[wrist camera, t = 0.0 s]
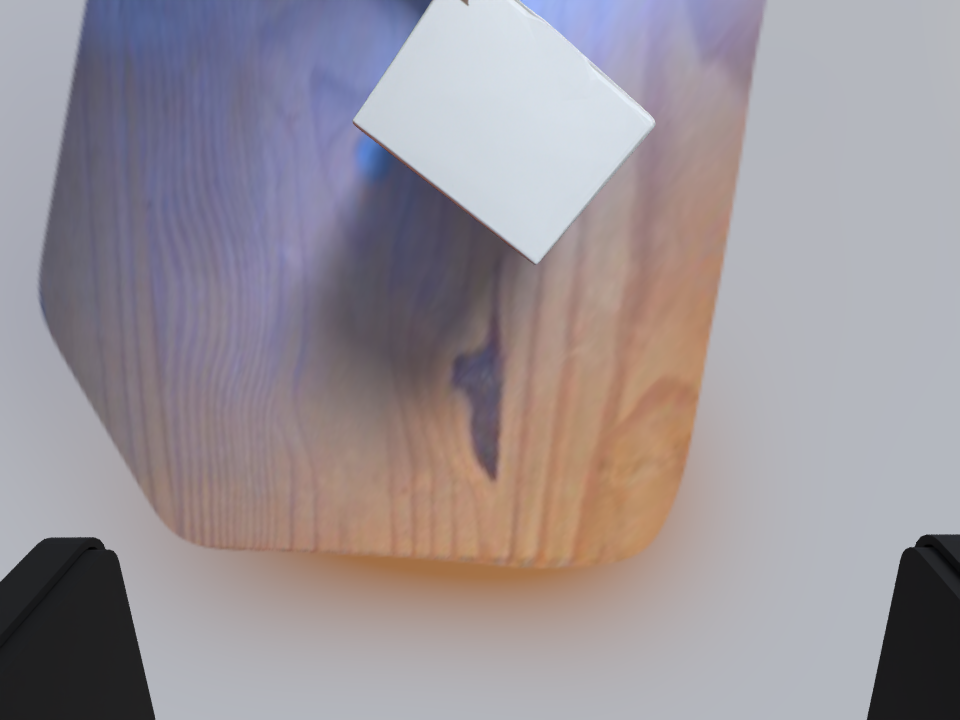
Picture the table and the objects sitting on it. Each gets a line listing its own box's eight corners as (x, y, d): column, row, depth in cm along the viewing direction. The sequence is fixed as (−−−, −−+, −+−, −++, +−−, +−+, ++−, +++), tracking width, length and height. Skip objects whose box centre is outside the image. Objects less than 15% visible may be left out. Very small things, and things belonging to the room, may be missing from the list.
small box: (396, 103, 37) (344, 120, 25) (476, -12, 35) (462, -56, 23) (526, 207, 38) (537, 270, 26) (609, 102, 36) (662, 118, 24)
